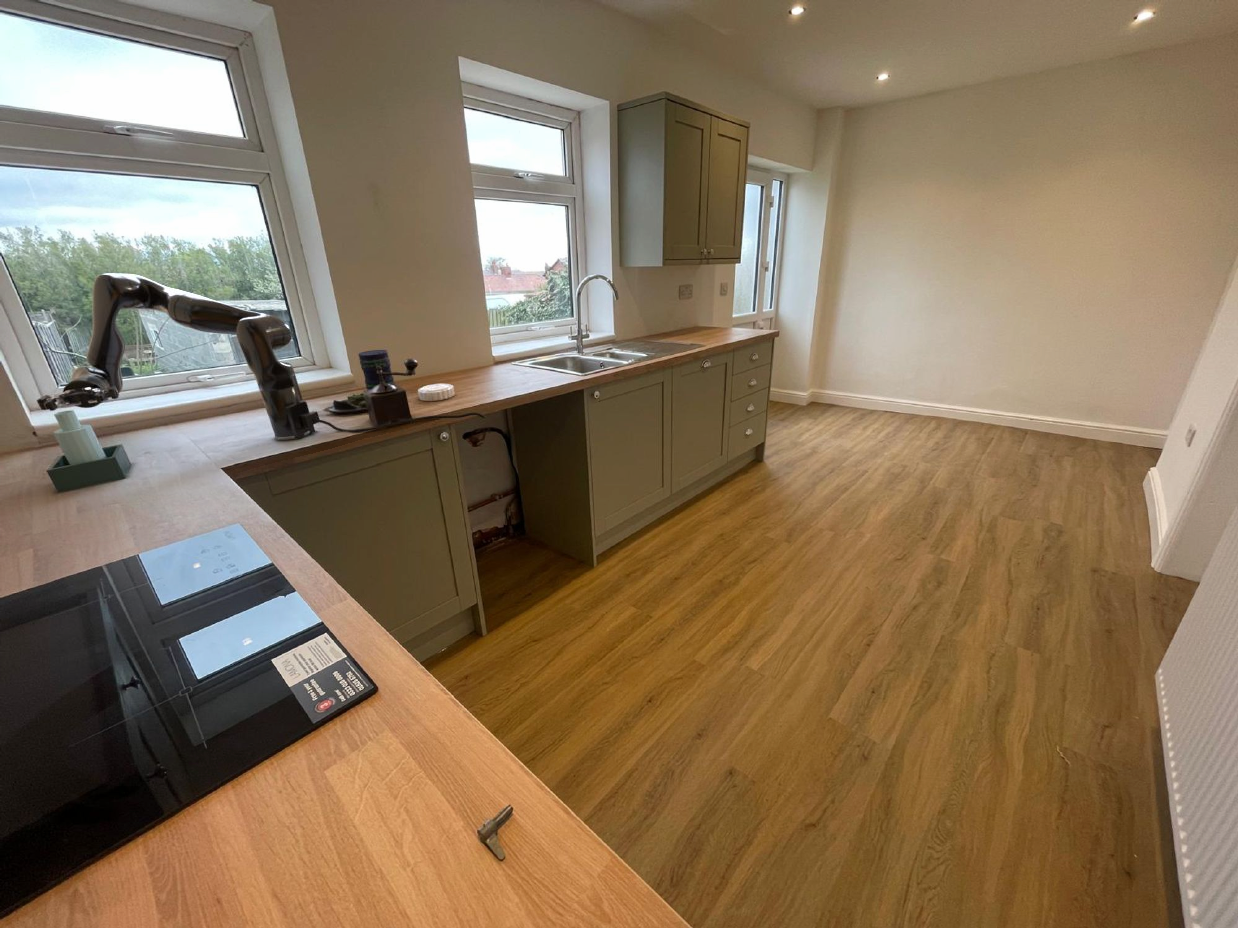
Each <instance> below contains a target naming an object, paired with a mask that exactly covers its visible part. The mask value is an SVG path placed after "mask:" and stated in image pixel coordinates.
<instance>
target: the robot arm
mask: <svg viewBox="0 0 1238 928" xmlns="http://www.w3.org/2000/svg"><path fill="white" fill-rule="evenodd" d="M121 310H152V311H157V312H160V313H161V312H162V313H164V314H166V315H167V316H168V317H169V319H170V320H172V321H173V322H174V323H176V324H178V325H180V326H182V327H185V328H189V329H191V330H195V331H198V332H203V333H210V334H220V335H235V336H236V339H237V342H238V345H239V347H240V350H241V352H242V354H243V357H244V360H245V362H246V365H247V367H248V368H249V370H250V371H251V373H252V374H253V375H254V378H255V381H256V384H257V386H258V391H259V392H260V395H261V398H262V402H263V404H264V408H265V411H266V413H267V414H266V415H267V416H268V419H269V422H270V426H271V428H272V431H273V434H274V438H275V440H277V441H290V440H300V439H302V438H305V437H307V436H309V435H311V434H314V433H315V432H316V428H315V425H317V424H318V423H321V424H324V425H326V426H329V427H330V428H331V429H333V430H335V431H338V432H343V433H344V432H345V433H359V432H368V431H369V432H370V431H375V430H380V429H383V428H387V427H392V426H397V425H402V424H406V423H412V422H417V421H422V420H430V419H461V418H465V417H470V416H478V417H481V418H482V419H486V416H485V415H484V414H482V413H481V412H476V411H475V412H474V411H473V412H467V413H463V414H456V415H455V414H454V415H453V414H452V415H451V414H446V415H443V414H442V415H440V414H439V415H426V416H420V417H419V416H418V417H415V418H412V419H409V420H404V421H399V422H394V423H389V424H385V425H381V426H372V427H365V428H357V429H345V428H340V427H337V426H335V425H334V424H332V423H331V422H329V421H327V420H324V419H320V415H319V412H318V411H316V410H315V411H310V409H309V406H308V402H307V401H306V400H304V399H303V395H302V393H301V390H300V386H299V383H298V379H297V376H296V372H295V369H294V366H293V365H292V364H291V363H289V362H285V361H281V360H279V359H278V358H277V356H276V355H275V352H274V351H277V350H280V349H283V348H285V347H286V346H288V345H289V344H290V343H291V341H292V337H293V335H292V331H291V328H290V327H289V325H288V324H287V323H286V321H284V320H283V319H281V318H280V317H278V316H276V315H273V314H269V313H265V312H264V313H262V312H257V311H252V310H247V309H243V308H239V307H236V306H233V305H232V304H231V305H230V304H227V303H225V302H221V301H217V300H215V299H211V298H209V297H206V296H203V295H199V294H196V293H192V292H188V291H185V290H181V289H177V288H171V287H169V286H166V285H163V284H160V283H158V282H156V281H154V280H151V279H149V278H147V277H144V276H141V275H139V274H138V275H137V274H133V273H112V272H111V273H100V274H99V275H98V276H96V277H95V279H94V282H93V286H92V330H91V331H92V332H91V337H90V341H89V345H88V349H87V353H86V358H85V359H86V360H85V361H86V362H87V363H88V365H90V366H87V365H82V366H81V365H80V366H78V367H76V368H75V369H74V370H73V371H72V374H71V377H70V381H69V382H67V384H66V385H65V386H64V387H63V390H62V392H59V393H56V394H54V395H53V396H51V395H49V394H46V395H43V396H41V397H39V398H37V399H36V402H37V405H38V406H39V408H40V410H41V411H47V410H49V411H50V412H53V411H56V410H57V409H59V408H61V409H62V408H69V407H73V406H75V407H77V408H82V409H91V408H95V407H97V406H99V405H100V404H102V403H104V402H107V401H109V400H110V398H111V399H112V400H116V399H118V398H119V396H120V393H121V392H122V390H123V386H124V382H123V376H122V368H121V365H122V360H123V358H124V355H125V351H126V341H125V337H124V336H123V334H122V332H121V330H120V328H119V327H118V325H117V318H118V315H119V313H120V311H121Z"/></svg>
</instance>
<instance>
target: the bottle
mask: <svg viewBox="0 0 1238 928" xmlns="http://www.w3.org/2000/svg"><path fill="white" fill-rule="evenodd" d="M53 416H54V417H55V419H56V421H57V423H58V425H59V427H60V428H59V429H57V430H54V431H53V432H52V434H53V435H54V437H55V439H56V441H57V443H58V445H59V447H60V449H61V450H62V452H63V455H65V456H66V458H67V460H68V462H69V464H70V465H74V464H79V463H84V462H89V461H94V460H99V459H104V458H107V457H106V455H105V453H104V451H103V449H102V448H103V447H102V445H101V443H100V441H99V439H98V437H97V435H96V433H95V431H94V429H93V426H92V425H91V424H87V423H86V424H81V422H80V421H79V418H78V416H77V415H76V412H75V410H74V409H69V410H63V411H57V412H55V413H54V414H53Z"/></svg>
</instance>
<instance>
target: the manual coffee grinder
mask: <svg viewBox="0 0 1238 928" xmlns="http://www.w3.org/2000/svg"><path fill="white" fill-rule="evenodd" d="M403 361H404V362H403V364H404V366H405V368H406V371H405V372H399V371H398V372H397V371H393V372H392V371H391V372H388V373H387V372H382V371H381V367H380V366H377V370H378V371H377V373H378V374H379V378H380V384H379V385H377V386H375V387H374V388H373V389H369V390H367V389H365V390H364V389H363V390H362V393H363V394H364V398H365V402H366V407H367V411H368V413H367V415H368V419H369V420H370V422H371V423H372V424H373V425H374V427H376V426H381V425H385V424H389V423H394V422H399V421H404V420H409V419H413V417H412V413H411V410H410V404H409V399H408V395H407V391H406V389H405V388H403V387H401V386H400V385H397V384H395V385H392V384H388V383H384V381H383V377H382V374H384V375H392V376H403V377H412V376H415V375H416V368H417V367H419V363H418V361H417V360H415V359H414V358H407V359H405V360H403Z"/></svg>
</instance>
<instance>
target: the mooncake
mask: <svg viewBox="0 0 1238 928" xmlns="http://www.w3.org/2000/svg"><path fill="white" fill-rule="evenodd" d="M417 393H418V399H419V400H421V401H422V402H423V401H424V402H437V401H443V400H447V399H451V398H452V397H454V396H455V388H454V385H452V384H450V383H445V382H444V383H434V384H428V385H424V386H423V387H420V388H418V390H417Z"/></svg>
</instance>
